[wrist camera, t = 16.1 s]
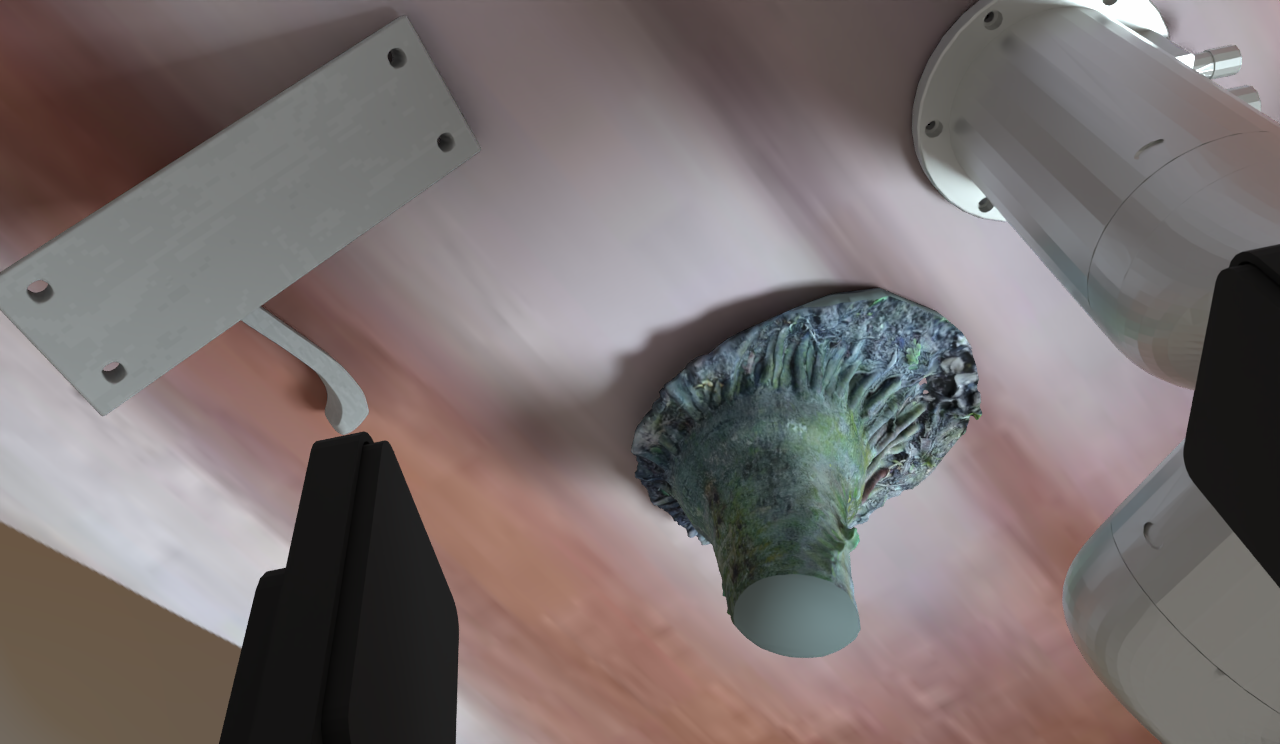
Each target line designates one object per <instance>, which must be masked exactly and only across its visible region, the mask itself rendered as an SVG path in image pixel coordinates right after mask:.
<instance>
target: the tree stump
mask: <svg viewBox="0 0 1280 744" xmlns="http://www.w3.org/2000/svg"><path fill="white" fill-rule="evenodd" d="M923 378H926V380H927V384H926V383H924V384H922V385H919V382H920V381H921V380H922V379H923ZM978 381H979V378H978V374H977V368H976V364H975V361H974V358H973V355H972V351H971V346H970V344H969V343H968V341H967V339H966V338H965V336H964V335H963V333H962V332H961V331H960V330H958V329H957V328H956V327H955V326H954V325H953V324H951V323H950V322H949V321H948V320H947V319H946V318H944V317H943V316H942V315H940V314H939V313H938V312H937V311H935V310H932V309H930V308H927V307H925V306H922V305H920V304H918V303H915V302H913V301H910V300H908V299H906V298H903V297H901V296H898V295H896V294H893V293H891V292H889V291H886V290H884V289H881V288H874V289H866V290H858V291H849V292H841V293H834V294H829V295H827V296H824V297H822V298H819V299H817V300H814V301H812V302H809V303H806V304H804V305H801V306H799V307H796V308H793V309H791V310H789V311H786V312H784V313H782V314H780V315H777V316H775V317H772V318H771V319H769V320H767V321H764V322H762V323H760V324H757V325H755V326H753V327H751V328H749V329H746V330H744V331H742V332H740V333H738V334H736V335H734V336H732V337H730V338H728V339H727V340H725V341H724V342H723V343H721V344H720V345H719V346H717V347H716V348H715V349H714V350H713V351H712V352H710V353H709V354H707V355H702V356H699V357H697V358H695V359H694V360H693V361H691V362H690V363H689V364H688V365H687V366H686V367H685V369H683V370H682V371H681V372H680V373H679V374H678V375H677V376H676V377H675V378H674V379H672V380H671V381H669V382H668V383H666V384H665V386H664V387H663V388H662V389H661V390H660V392H659V393H660V398H659V399H657V400H656V401H655V402H654V403H653V406H652V409H651V410H650V411H649V412H648V413H647V414H646V415H645V417H644V418H643V420H642V421H641V423H640V424H639V425H638V426H637V429H636V431H635V435H634V440H633V444H632V450H631V452H632V453H633V454H634V455H636V456H637V461H638V466H637V471H636V472H635V477H636V478H638V479H640V480H641V483H642V485H643V486H645V487H646V488H647V490H648V493H649V497H650V500H651V502H652V503H653V505H657V506H658V507H659V508H662V509H664V511H666V512H668V513H669V514H670V515H671V516H672V517H673V519H674V521H677V522H678V525H681V526H683V527H685V528H686V530H687V533H688V537H690V538H692V537H694V536H697V537H698V540H700V541H701V543H702V544H701V545H707V544H710V543H711V544H712V545H713V549H714V552H715V556H716V559H717V563H718V567H719V571H720V574H721V577H722V588H723V596H725V597H726V600H727V606H728V610H727V613H728V614H729V615H731V620H732V622H733V624H734V625H735V626H736V628H737V629H738V630H739V631H740V632H741V633H742V634H743V635H744V636H745V637H746V638H747V639H749V640H750V641H752V642H753V643H754V644H756V645H757V646H759V647H760V648H762V649H765V650H768V651H770V652H773V653H776V654H779V655H783V656H788V657H797V658H813V657H822V656H826V655H829V654H831V653H834V652H836V651H839V650H841V649H842V648H844V647H845V646H847V645H848V644H849V643H851V642H852V641H854V640H855V638H856V637H857V635H858V633H859V631H860V620H859V615H858V610H857V605H856V602H855V599H854V586H853V581H852V577H851V567H850V566H851V565H850V555H849V553H850V552H851V551H852V550H854V549H855V548H856V546H857V544H858V542H859V541H860V539H859V535H858V533H857V529H856V528H855V527H853V526H855V525H857V524H862V523H864V522H867V521H868V519H869V515H870V514H871V513H872V512H873V511H874V510H876V509H877V508H879V507H882V506H883V505H884V503H885V501H886V500H887V499H890V498H891V497H895V496H899V495H900V494H901V492H902V491H904V490H907V489H913V488H914V487H915V486H917V485H918V484H919V483H920V482H921V481H923V480H924V479H925V478H926V477H927V476H929V475H930V474H931V473H932V472H933V471H934V469H935V468H936V467H937V465H938V464H939V463H940V461H941V460H942V459H943V457H944V456H945V455H946V453H947V452H948V451H949V450H950V449H951V448H952V446H953V445H954V444H955V443H956V441H957V440H958V439H959V438H960V437H961V436H962V435H963V434H965V432H966V429H967V425H968V422H969V417H970V416H974V417H975V419H976V420H978V419H979V417H980V416H981V415H982V411H981V409H980V403H981V398H980V392H978V390H977V384H978ZM924 390H927V391H928V392H929V393H927V394H923V391H924ZM852 527H853V528H852ZM850 528H852V529H850Z"/></svg>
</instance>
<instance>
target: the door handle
mask: <svg viewBox="0 0 1280 744" xmlns="http://www.w3.org/2000/svg"><path fill="white" fill-rule="evenodd" d="M390 51H391V53H392V55H393V60H392V62H391V63H389V61H388V58H387V55H388V53H389V52H390ZM439 136H440V143H439V144H437V139H438V137H439ZM480 151H481V147H480V145H479V144H478V142H477V140H476V138H475V137H474V135H473V133H472V131H471V129H470V128H469V126H468V124H467V122H466V120H465V119H464V117H463V115H462V113H461V112H460V110H459V108H458V106H457V104H456V103H455V101H454V99H453V97H452V95H451V94H450V92H449V90H448V88H447V87H446V85H445V83H444V81H443V79H442V78H441V76H440V74H439V72H438V71H437V69H436V67H435V65H434V63H433V62H432V60H431V58H430V56H429V54H428V53H427V51H426V49H425V47H424V46H423V44H422V42H421V40H420V38H419V37H418V35H417V33H416V31H415V29H414V28H413V26H412V24H411V22H410V21H409V19H408V17H407V16H406V15H403V16H401V17H399V18H397V19H395V20H394V21H392V22H391V23H389V24H388V25H386V26H384V27H383V28H381V29H380V30H378V31H377V32H375V33H373V34H372V35H370V36H369V37H367V38H366V39H364V40H363V41H361V42H359V43H358V44H356V45H355V46H353V47H352V48H350V49H348V50H347V51H345V52H344V53H342V54H341V55H339V56H338V57H336V58H334V59H333V60H331V61H330V62H328V63H327V64H325V65H323V66H322V67H320V68H319V69H317V70H316V71H314V72H313V73H311V74H309V75H308V76H306V77H305V78H303V79H302V80H300V81H298V82H297V83H295V84H294V85H292V86H291V87H289V88H288V89H286V90H284V91H283V92H281V93H280V94H278V95H277V96H275V97H273V98H272V99H270V100H269V101H267V102H266V103H264V104H263V105H261V106H259V107H258V108H256V109H255V110H253V111H252V112H250V113H248V114H247V115H245V116H244V117H242V118H241V119H239V120H238V121H236V122H234V123H233V124H231V125H230V126H228V127H227V128H225V129H223V130H222V131H220V132H219V133H217V134H216V135H214V136H213V137H211V138H209V139H208V140H206V141H205V142H203V143H202V144H200V145H198V146H197V147H195V148H194V149H192V150H191V151H189V152H188V153H186V154H184V155H183V156H181V157H180V158H178V159H177V160H175V161H173V162H172V163H170V164H169V165H167V166H166V167H164V168H163V169H161V170H159V171H158V172H156V173H155V174H153V175H152V176H150V177H148V178H147V179H145V180H144V181H142V182H141V183H139V184H138V185H136V186H134V187H133V188H131V189H130V190H128V191H127V192H125V193H123V194H122V195H120V196H119V197H117V198H116V199H114V200H113V201H111V202H109V203H108V204H106V205H105V206H103V207H102V208H100V209H98V210H97V211H95V212H94V213H92V214H91V215H89V216H88V217H86V218H84V219H83V220H81V221H80V222H78V223H77V224H75V225H73V226H72V227H70V228H69V229H67V230H66V231H64V232H63V233H61V234H59V235H58V236H56V237H55V238H53V239H52V240H50V241H48V242H47V243H45V244H44V245H42V246H41V247H39V248H38V249H36V250H34V251H33V252H31V253H30V254H28V255H27V256H25V257H23V258H22V259H20V260H19V261H17V262H16V263H14V264H13V265H11V266H9V267H8V268H6V269H5V270H3V271H2V272H0V310H1V311H2V312H3V313H4V314H5V315H6V316H7V317H8V318H9V320H10V321H11V322H12V323H13V324H14V325H15V326H16V327H17V328H18V329H19V330H20V331H21V332H22V333H23V334H24V335H25V336H26V337H27V338H28V339H29V340H30V342H31V343H32V344H33V345H34V346H35V347H36V348H37V349H38V350H39V351H40V352H41V353H42V354H43V355H44V356H45V357H46V358H47V359H48V360H49V361H50V362H51V364H52V365H53V366H54V367H55V368H56V369H57V370H58V371H59V372H60V373H61V374H62V375H63V376H64V377H65V378H66V379H67V380H68V381H69V382H70V383H71V384H72V386H73V387H74V388H75V389H76V390H77V391H78V392H79V393H80V394H81V395H82V396H83V397H84V398H85V399H86V400H87V401H88V402H89V403H90V404H91V405H92V406H93V408H94V409H95V410H96V411H97V412H98V413H99V414H100V415H101V416H105V415H107V414H108V413H110V412H111V411H112V410H114V409H115V408H117V407H118V406H120V405H121V404H122V403H124V402H125V401H127V400H128V399H129V398H131V397H132V396H134V395H135V394H137V393H138V392H139V391H141V390H142V389H144V388H145V387H147V386H148V385H149V384H151V383H152V382H154V381H155V380H156V379H158V378H159V377H161V376H162V375H164V374H165V373H166V372H168V371H169V370H171V369H172V368H173V367H175V366H176V365H178V364H179V363H181V362H182V361H183V360H185V359H186V358H188V357H189V356H190V355H192V354H193V353H195V352H196V351H198V350H199V349H200V348H202V347H203V346H205V345H206V344H207V343H209V342H210V341H212V340H213V339H215V338H216V337H217V336H219V335H220V334H222V333H223V332H224V331H226V330H227V329H229V328H230V327H232V326H233V325H234V324H236V323H237V322H239V321H240V320H241V321H243V322H244V323H246V324H247V325H249V326H250V327H252V328H253V329H255V330H256V331H258V332H259V333H261V334H262V335H264V336H266V337H267V338H269V339H270V340H272V341H273V342H275V343H276V344H278V345H279V346H281V347H282V348H284V349H285V350H287V351H288V352H290V353H291V354H292V355H294V356H295V357H297V358H298V359H299V360H301V361H302V362H304V363H305V364H306V365H308V366H309V367H310V368H312V369H313V370H314V371H315V372H316V373H317V374H318V376H319V377H320V378H321V380H322V381H323V383H324V385H325V387H326V390H327V404H326V407H325V415H326V417H327V419H328V421H329V422H330V424H331V425H332V426H333V428H334V429H335V430H336V431H337V432H338V433H340V434H342V435H345V434H348V433H350V432H352V431H353V430H354V429H356V428H357V427H358V426H359V425H360V424H361V423H362V422H363V420H364V419H365V418H366V416H367V415H368V413H369V410H368V406H367V402H366V398H365V395H364V393H363V391H362V390H361V388H360V387H359V385H358V384H357V383H356V382H355V380H354V379H353V378H352V377H351V376H350V374H349V373H348V372H347V371H346V370H345V369H344V368H343V367H342V366H341V365H340V364H339V363H338V362H337V361H336V360H334V359H333V358H332V357H331V356H330V355H329V354H327V353H326V352H325V351H324V350H322V349H321V348H319V347H318V346H317V345H315V344H314V343H313V342H311V341H310V340H309V339H307V338H306V337H304V336H303V335H301V334H300V333H299V332H297V331H296V330H294V329H293V328H291V327H290V326H288V325H287V324H286V323H284V322H283V321H281V320H280V319H278V318H277V317H276V316H274V315H273V314H271V313H270V312H269V311H267V310H266V309H264V308H263V307H262V306H261V305H263V304H264V303H266V302H267V301H268V300H270V299H271V298H273V297H274V296H276V295H277V294H278V293H280V292H281V291H283V290H284V289H285V288H287V287H288V286H290V285H291V284H293V283H294V282H295V281H297V280H298V279H300V278H301V277H302V276H304V275H305V274H307V273H308V272H310V271H311V270H312V269H314V268H315V267H317V266H318V265H319V264H321V263H322V262H324V261H325V260H327V259H328V258H329V257H331V256H332V255H334V254H335V253H337V252H338V251H339V250H341V249H342V248H344V247H345V246H346V245H348V244H349V243H351V242H352V241H354V240H355V239H356V238H358V237H359V236H361V235H362V234H363V233H365V232H366V231H368V230H369V229H371V228H372V227H373V226H375V225H376V224H378V223H379V222H380V221H382V220H383V219H385V218H386V217H388V216H389V215H390V214H392V213H393V212H395V211H396V210H397V209H399V208H400V207H402V206H403V205H405V204H406V203H407V202H409V201H410V200H412V199H413V198H414V197H416V196H417V195H419V194H420V193H422V192H423V191H424V190H426V189H427V188H429V187H430V186H432V185H433V184H434V183H436V182H437V181H439V180H440V179H441V178H443V177H444V176H446V175H447V174H449V173H450V172H451V171H453V170H454V169H456V168H457V167H458V166H460V165H461V164H463V163H464V162H466V161H467V160H468V159H470V158H471V157H473V156H474V155H475V154H477V153H478V152H480ZM37 280H43V281H45V282H47V283H48V286H47V288H46V289H45V290H43V291H41V292H38V293H34V292H31V291H29V290H28V289H27V287H28V286H29V285H30V284H31V283H33V282H34V281H37ZM112 362H118V363H119V365H118V366H117V367H116V368H115V369H113V370H111V371H104V370H103V368H104V367H105V366H106V365H108V364H110V363H112Z"/></svg>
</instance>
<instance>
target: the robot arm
mask: <svg viewBox="0 0 1280 744" xmlns="http://www.w3.org/2000/svg"><path fill="white" fill-rule="evenodd" d="M990 12H991V13H990ZM988 13H990V16H989V17H988V18H987V19H985V17H986V16H987V14H988ZM984 19H985V20H984ZM1241 65H1242V56H1241V53H1240V50H1239V49H1238V48H1237V46H1236V45H1228V46H1223V47H1218V48H1213V49H1208V50H1205V51H1203V52H1201V53H1196V54H1191V53H1189V52H1188V51H1186V50H1184V49H1183V48H1181V47H1180V46H1178V45H1176V44H1175V43H1173V42H1172V41H1170V37H1169V32H1168V28H1167V26H1166V24H1165V22H1164V20H1163V18H1162V16H1161V14H1160V12H1159V10H1158V9H1157V7H1156V6H1155V5H1154V4H1153V3H1152V2H1151V1H1150V0H979V1H978V2H977V3H976V4H974V5H973V6H972V7H971V8H970V9H969V10H967V11H966V12H965V13H964V14H963V15H962V16H961V17H960V18H959V19H958V20H957V21H956V22H955V24H954V25H953V26H952V27H951V28H950V29H949V30H948V32H947V33H946V34H945V35H944V36H943V38H942V39H941V41H940V42H939V44H938V46H937V47H936V49H935V50H934V52H933V54H932V55H931V57H930V58H929V60H928V62H927V65H926V67H925V69H924V72H923V74H922V76H921V79H920V81H919V84H918V88H917V92H916V96H915V101H914V105H913V116H912V134H913V140H914V146H915V152H916V155H917V157H918V160H919V162H920V164H921V167H922V169H923V171H924V173H925V174H926V176H927V177H928V178H929V180H930V181H931V183H932V184H933V186H934V187H935V188H936V189H937V190H938V191H939V192H940V193H941V194H942V196H943V197H944V198H945V199H946V200H947V201H948V202H950V203H952V204H953V205H955V206H956V207H958V208H959V209H961V210H962V211H964V212H966V213H968V214H971V215H973V216H976V217H978V218H982V219H988V220H994V221H1001V222H1008V223H1009V224H1010V225H1011V226H1012V227H1013V229H1014V230H1015V231H1016V232H1017V233H1018V234H1019V236H1020V237H1021V238H1022V239H1023V240H1024V241H1025V242H1026V244H1027V245H1028V246H1029V247H1030V248H1031V249H1032V251H1033V252H1034V253H1035V254H1036V255H1037V256H1038V258H1039V259H1040V260H1041V261H1042V262H1043V263H1044V264H1045V266H1046V267H1047V268H1048V269H1049V270H1050V271H1051V273H1052V274H1053V275H1054V276H1055V277H1056V278H1057V280H1058V281H1059V282H1060V283H1061V284H1062V285H1063V286H1064V288H1065V289H1066V290H1067V291H1068V292H1069V293H1070V295H1071V296H1072V297H1073V298H1074V299H1075V300H1076V302H1077V303H1078V304H1079V305H1080V306H1081V307H1082V308H1083V310H1084V311H1085V312H1086V313H1087V314H1088V315H1089V317H1090V318H1091V319H1092V320H1093V321H1094V322H1095V324H1096V325H1097V326H1098V327H1099V328H1100V329H1101V330H1102V332H1103V333H1104V334H1105V335H1106V336H1107V337H1108V338H1109V340H1110V341H1111V342H1112V343H1113V344H1114V345H1115V346H1116V348H1117V349H1118V350H1119V351H1120V352H1121V353H1122V354H1124V355H1125V356H1126V357H1127V358H1128V359H1129V360H1130V361H1131V362H1132V363H1134V364H1135V365H1137V366H1138V367H1140V368H1141V369H1143V370H1144V371H1146V372H1147V373H1149V374H1151V375H1153V376H1155V377H1157V378H1159V379H1162V380H1164V381H1167V382H1169V383H1172V384H1174V385H1177V386H1179V387H1183V388H1186V389H1190V390H1195V391H1194V396H1193V401H1192V407H1191V412H1190V417H1189V422H1188V427H1187V432H1186V438H1185V439H1184V440H1183V441H1182V442H1181V443H1180V444H1179V445H1178V446H1177V447H1176V448H1175V449H1174V450H1173V451H1172V452H1171V453H1170V454H1169V455H1168V456H1167V457H1166V458H1165V459H1164V460H1163V461H1162V462H1161V463H1160V464H1159V465H1158V466H1157V467H1156V468H1155V469H1154V470H1153V471H1152V472H1151V473H1150V474H1149V476H1148V477H1147V478H1146V479H1145V480H1144V481H1143V482H1142V483H1141V484H1140V485H1139V486H1138V487H1137V488H1136V489H1135V490H1134V491H1133V492H1132V493H1131V494H1130V495H1129V496H1128V497H1127V498H1126V499H1125V500H1124V501H1123V502H1122V503H1121V504H1120V505H1119V506H1118V507H1117V508H1116V509H1115V511H1114V512H1113V513H1112V514H1111V516H1110V517H1109V518H1108V519H1107V520H1106V521H1105V522H1104V523H1103V524H1102V525H1101V526H1100V527H1099V528H1098V529H1097V530H1096V531H1095V533H1094V534H1093V535H1092V536H1091V537H1090V538H1089V540H1088V541H1087V542H1086V543H1085V544H1084V545H1083V547H1082V548H1081V550H1080V551H1079V553H1078V554H1077V555H1076V557H1075V559H1074V560H1073V562H1072V564H1071V566H1070V568H1069V570H1068V572H1067V576H1066V579H1065V582H1064V586H1063V609H1064V615H1065V619H1066V623H1067V626H1068V628H1069V631H1070V633H1071V636H1072V638H1073V640H1074V642H1075V644H1076V646H1077V647H1078V649H1079V651H1080V652H1081V654H1082V656H1083V657H1084V659H1085V660H1086V662H1087V663H1088V665H1089V666H1090V667H1091V669H1092V670H1093V672H1094V673H1095V674H1096V675H1097V677H1098V678H1099V679H1100V680H1101V682H1102V683H1103V684H1104V685H1105V686H1106V687H1107V688H1108V689H1109V691H1110V692H1111V693H1112V694H1113V695H1114V696H1115V697H1116V699H1117V700H1118V701H1119V702H1120V703H1121V704H1122V705H1123V706H1124V707H1125V708H1126V709H1127V710H1128V711H1129V712H1130V713H1131V714H1132V715H1133V716H1134V717H1135V718H1136V719H1137V720H1138V721H1139V722H1140V723H1141V724H1142V725H1143V726H1144V727H1145V728H1146V729H1147V730H1148V731H1149V732H1150V733H1151V734H1153V735H1154V736H1155V737H1156V738H1157V739H1158V740H1159V741H1160V742H1161V743H1162V744H1280V124H1279V123H1278V122H1276V121H1275V120H1273V119H1271V118H1270V117H1268V116H1267V115H1265V114H1264V113H1262V112H1261V101H1260V98H1259V95H1258V92H1257V91H1256V90H1255V89H1254V88H1253V87H1252V86H1248V85H1244V86H1240V87H1235V88H1230V89H1224V88H1223V87H1221V86H1220V85H1218V84H1216V83H1215V82H1213V81H1212V80H1211V79H1216V78H1221V77H1226V76H1231V75H1235V74H1236V73H1238V72H1239V70H1240V68H1241ZM930 122H932V123H931V124H930V125H929V126H927V125H928V124H929V123H930ZM458 645H459V624H458V616H457V610H456V606H455V602H454V599H453V596H452V594H451V592H450V589H449V587H448V584H447V582H446V579H445V577H444V574H443V572H442V569H441V567H440V564H439V562H438V560H437V557H436V555H435V552H434V550H433V547H432V545H431V542H430V540H429V537H428V535H427V532H426V530H425V528H424V525H423V523H422V520H421V518H420V515H419V513H418V510H417V508H416V505H415V503H414V500H413V498H412V496H411V493H410V491H409V488H408V486H407V483H406V481H405V478H404V476H403V473H402V471H401V468H400V466H399V463H398V461H397V459H396V456H395V454H394V451H393V449H392V447H391V445H390V444H389V442H388V441H380V442H375V443H374V442H373V440H372V438H371V436H370V435H369V434H368V433H367V432H359V433H355V434H350V435H345V436H340V437H335V438H330V439H325V440H320V441H316V442H315V443H314V444H313V446H312V449H311V453H310V457H309V462H308V467H307V471H306V476H305V481H304V485H303V490H302V495H301V499H300V504H299V509H298V513H297V518H296V523H295V527H294V532H293V537H292V541H291V546H290V551H289V555H288V560H287V565H286V568H282V569H278V570H273V571H268V572H266V573H265V574H264V575H263V576H262V577H261V578H260V580H259V583H258V586H257V588H256V592H255V596H254V600H253V604H252V608H251V612H250V617H249V621H248V625H247V629H246V633H245V637H244V642H243V646H242V650H241V654H240V658H239V663H238V667H237V671H236V675H235V679H234V683H233V687H232V692H231V696H230V700H229V704H228V708H227V713H226V717H225V721H224V725H223V729H222V733H221V737H220V742H219V744H456V714H457V679H458Z"/></svg>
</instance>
